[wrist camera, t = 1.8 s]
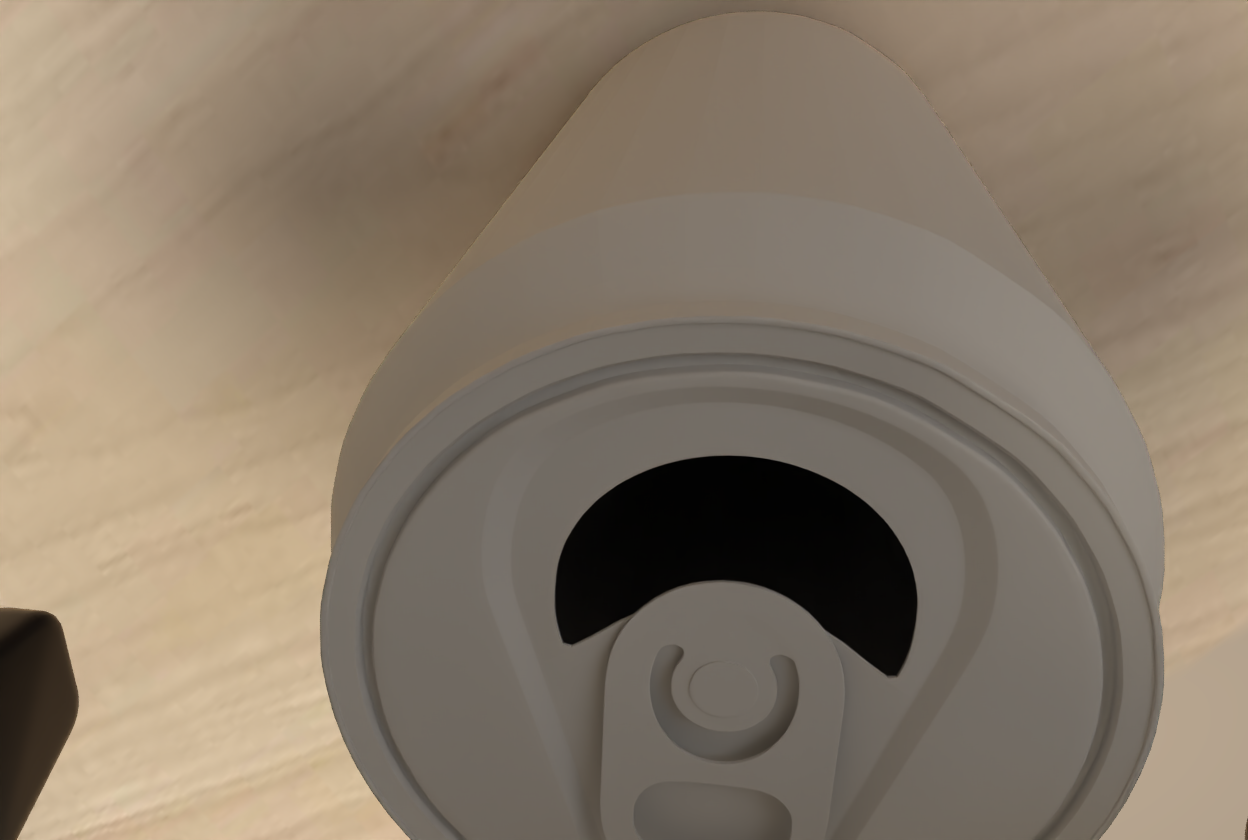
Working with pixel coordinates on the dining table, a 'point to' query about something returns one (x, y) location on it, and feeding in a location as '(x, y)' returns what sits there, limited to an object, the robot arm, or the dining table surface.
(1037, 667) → the beverage can
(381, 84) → the dining table surface
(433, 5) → the dining table surface
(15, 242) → the dining table surface
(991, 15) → the dining table surface
